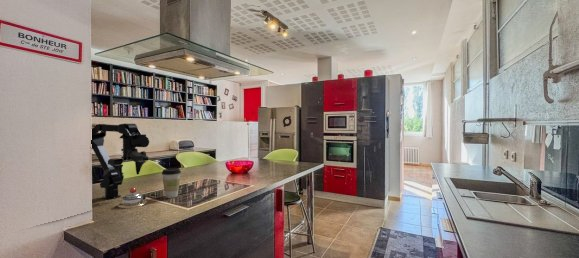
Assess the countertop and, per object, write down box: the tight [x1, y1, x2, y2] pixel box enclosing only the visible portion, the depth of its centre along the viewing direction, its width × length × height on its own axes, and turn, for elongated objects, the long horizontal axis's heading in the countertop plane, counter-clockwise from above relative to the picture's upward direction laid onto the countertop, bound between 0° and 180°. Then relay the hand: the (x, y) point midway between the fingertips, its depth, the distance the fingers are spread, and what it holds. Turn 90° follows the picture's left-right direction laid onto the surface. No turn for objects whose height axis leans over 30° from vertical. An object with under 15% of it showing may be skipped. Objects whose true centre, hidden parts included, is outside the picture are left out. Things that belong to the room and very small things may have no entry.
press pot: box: [118, 193, 148, 209], centre depth 124 cm, size 12×12×4 cm
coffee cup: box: [161, 167, 182, 199], centre depth 138 cm, size 10×10×15 cm
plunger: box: [125, 187, 141, 198], centre depth 124 cm, size 6×6×4 cm
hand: (129, 175), depth 132 cm, fingers open, 9 cm apart
